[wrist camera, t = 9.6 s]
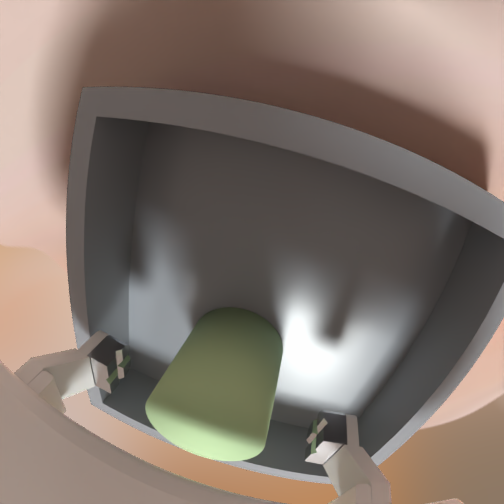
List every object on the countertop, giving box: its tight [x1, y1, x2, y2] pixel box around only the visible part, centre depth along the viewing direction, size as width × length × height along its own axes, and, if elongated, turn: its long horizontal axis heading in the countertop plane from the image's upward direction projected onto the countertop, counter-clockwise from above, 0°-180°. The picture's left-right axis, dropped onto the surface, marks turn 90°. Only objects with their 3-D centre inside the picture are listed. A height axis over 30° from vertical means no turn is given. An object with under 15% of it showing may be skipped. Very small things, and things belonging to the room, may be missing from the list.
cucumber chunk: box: [145, 307, 283, 461], centre depth 11 cm, size 4×4×5 cm
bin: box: [66, 87, 504, 484], centre depth 11 cm, size 16×16×4 cm
